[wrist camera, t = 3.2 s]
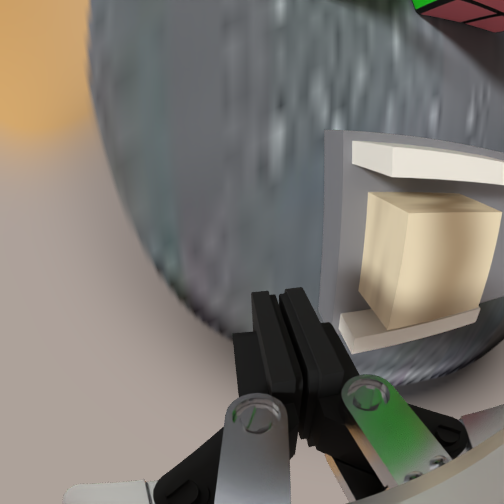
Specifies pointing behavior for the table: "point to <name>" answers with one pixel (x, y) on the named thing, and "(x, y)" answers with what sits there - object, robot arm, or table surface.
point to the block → (425, 255)
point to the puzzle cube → (466, 12)
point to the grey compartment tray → (355, 212)
